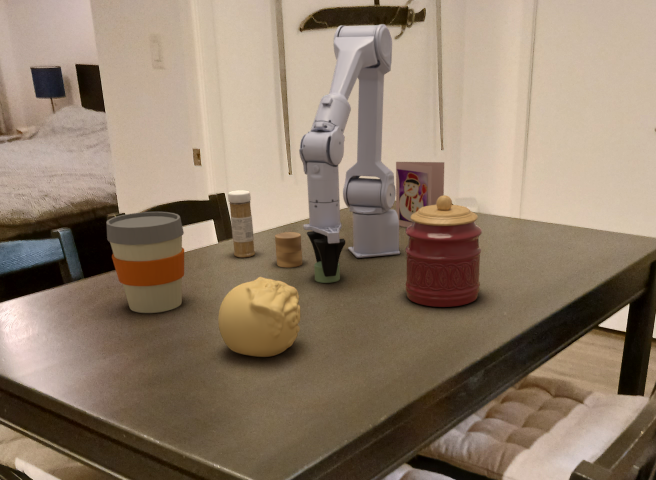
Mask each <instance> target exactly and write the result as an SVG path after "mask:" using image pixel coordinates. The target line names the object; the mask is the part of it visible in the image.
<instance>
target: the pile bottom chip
mask: <svg viewBox="0 0 656 480" xmlns="http://www.w3.org/2000/svg"><path fill="white" fill-rule="evenodd" d="M302 250H303V249H301V250H300V251H298V252H293V253H281V252H277V251H276V250H275V257H276V266H278V267H280V268H286V269H287V268H297V267H300V266H302V265H303V251H302Z"/></svg>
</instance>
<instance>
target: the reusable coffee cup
mask: <svg viewBox="0 0 656 480" xmlns="http://www.w3.org/2000/svg"><path fill="white" fill-rule="evenodd" d="M184 234H185V231H184V227H183V223H182V219H181V216H180V215H179V214H178V213H175V212H168V211H143V212H134V213H127V214H126V213H125V214H122V215H118V216H114V217H112V218H109V219H108V220H106V237H107V238H106V239H107V241H108V242H109V243H110V247H111V250H112V254H111V260H112V262H113V266H114V269H115V272H116V275H117V279H118V282H119V283H120V284H122V287H123V291H124V293H125V298H126V300H127V301H126V302H127V303H128V306H129V309H130V310H131V311H132V312H135V313H141V314H156V313H163V312H168V311H171V310H175V309H176V308H178V307H180V306H181V305H182V302H183V288H182V287H183V277H184V276H185V248H184V247H183V235H184Z"/></svg>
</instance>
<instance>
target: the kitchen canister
mask: <svg viewBox="0 0 656 480" xmlns="http://www.w3.org/2000/svg"><path fill="white" fill-rule="evenodd" d="M478 218H479V217H478V214H477V213H475V212H473V211H471V209H470V208H469V207H467V206H463V205H459V204H453V200H452V197H450V196H449V195H443V196H440V197H439V198H438V199H437V202H436V205H430V206H425V207H422V208H420V209H419V210H418V211H417V212H415V213H414V214H412V215H411V220H412V221H413V223H412V225H410V226H409V227H408V228H407V227H406V228H405V234H406V235H407V237H408V244H407V246H406V248H405V253H406V281H405V291H406V297H407V299H409V301H411V302H413V303H416V304H417V305H422V306H426V307H435V308H436V307H437V308H447V307H448V308H449V307H450V308H451V307H460V306H464V305H469V304H471V303H473V302H474V301H476V300H477V299H478V297H479V292H480V286H481V282H480V267H481V265H480V264H481V262H480V261H481V254H482V248H481V246H480V245H479V243H480V242H479V241H480V240H479V238H480V236H481V235H482V234H483V229H482V228H481V227H480V226H479V225H477V223H476V221H477V220H478Z"/></svg>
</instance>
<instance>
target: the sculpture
mask: <svg viewBox="0 0 656 480" xmlns="http://www.w3.org/2000/svg"><path fill="white" fill-rule="evenodd" d="M299 300H300V296H299V291H298V290H297V288H296V287H294V286H292V285H289V284H288V283H286V282H284V281H281V280H274V279H272V278H266V277H262V276H258V277H257V278H256V279H253V280H251V281H246V282H243V283H240V284H239V285H236V286H234V287H233V288H232V289H230V290H229V291H228V293H226V295H224V298H223V299H222V302H221V303H220V306H219V311H218V321H217V322H218V330H219V334H220V336H221V339H222V340H223V343H224V344H225V345H226V346H227V348H228V349H230V351H232V352H234V353H237V354H240V355H244V356H249V357H256V358H257V357H258V358H268V357H275V356H278V355H279V354H282V353H283V352H285V351H286V350H287V349H288V348H290V347H292V346H293V344H294V342H295V341H296V339H297V338H298V336H299V335H298V333H299V332H300V330H301V328H300V325H299V323H300V321H301V306H300V305H301V304H299Z"/></svg>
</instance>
